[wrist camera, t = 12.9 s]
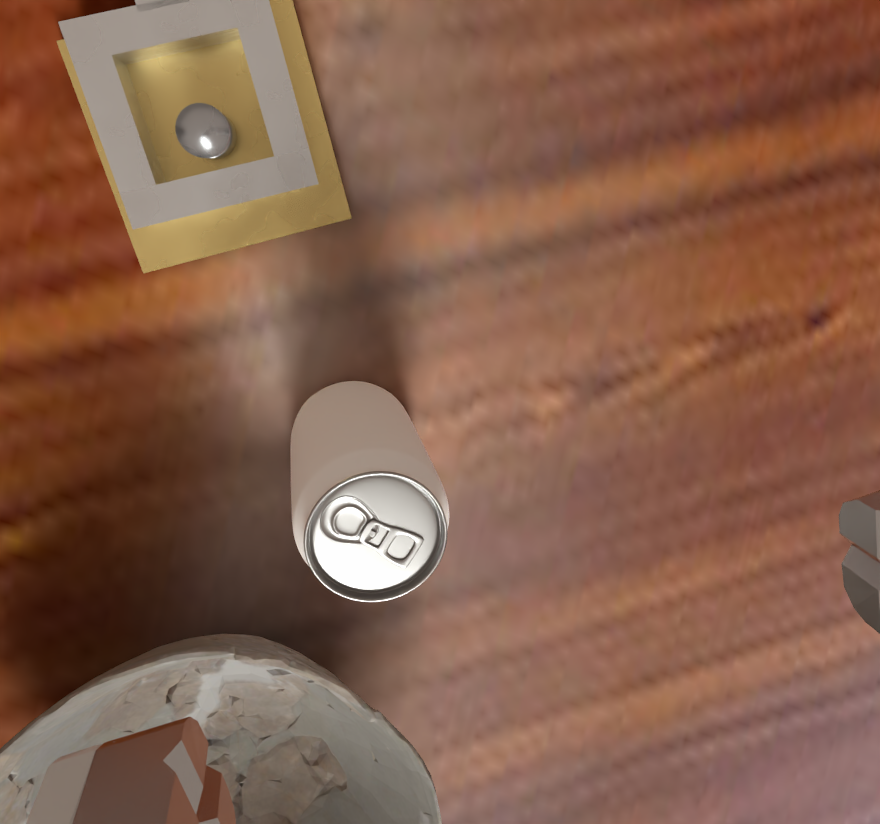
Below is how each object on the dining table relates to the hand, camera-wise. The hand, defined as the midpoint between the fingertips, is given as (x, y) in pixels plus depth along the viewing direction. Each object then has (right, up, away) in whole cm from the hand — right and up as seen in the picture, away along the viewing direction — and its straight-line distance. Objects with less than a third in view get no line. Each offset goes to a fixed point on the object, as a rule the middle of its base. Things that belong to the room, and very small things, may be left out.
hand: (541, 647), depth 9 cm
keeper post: (-12, +16, +26) cm, 32 cm away
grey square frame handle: (-12, +19, +24) cm, 33 cm away
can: (-6, +2, +32) cm, 32 cm away
